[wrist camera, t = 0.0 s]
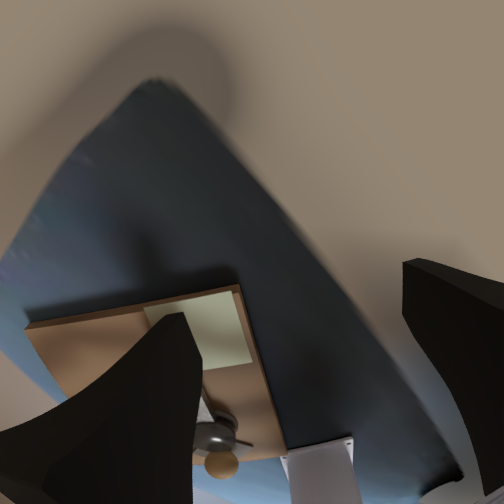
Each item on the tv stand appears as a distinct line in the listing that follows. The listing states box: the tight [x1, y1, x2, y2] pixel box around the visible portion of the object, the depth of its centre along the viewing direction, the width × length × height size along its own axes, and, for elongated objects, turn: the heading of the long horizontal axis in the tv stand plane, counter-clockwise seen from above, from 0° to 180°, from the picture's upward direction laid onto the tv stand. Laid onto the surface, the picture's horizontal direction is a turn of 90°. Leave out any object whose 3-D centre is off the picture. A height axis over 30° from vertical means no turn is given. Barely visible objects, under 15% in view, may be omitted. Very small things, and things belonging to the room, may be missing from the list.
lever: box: [193, 387, 236, 452], centre depth 20 cm, size 14×7×5 cm, turn 13°
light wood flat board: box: [24, 284, 288, 479], centre depth 22 cm, size 20×19×5 cm
